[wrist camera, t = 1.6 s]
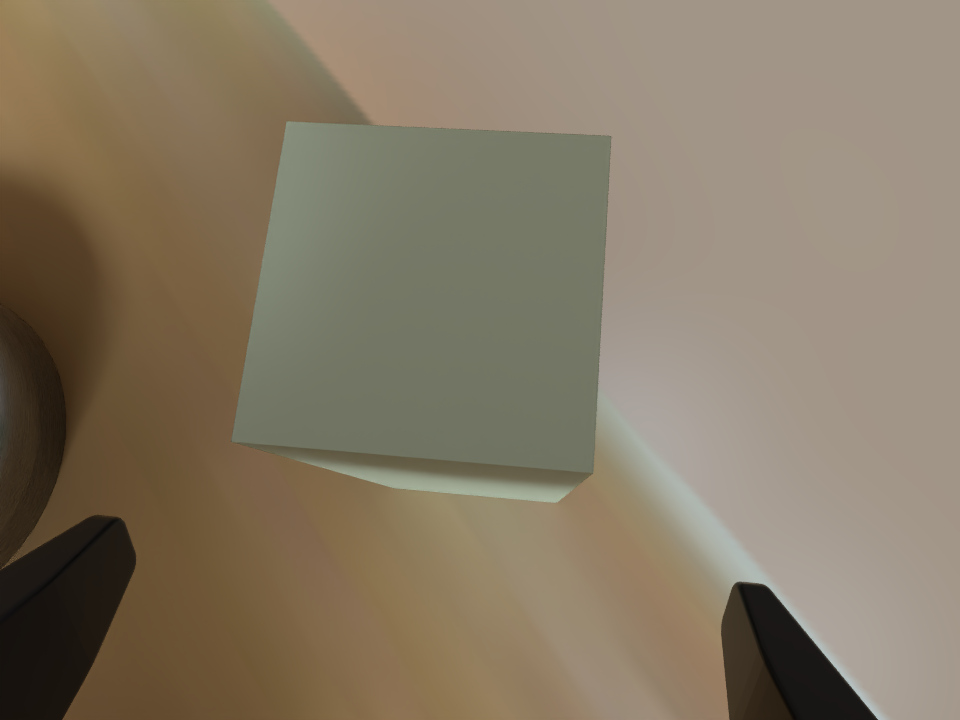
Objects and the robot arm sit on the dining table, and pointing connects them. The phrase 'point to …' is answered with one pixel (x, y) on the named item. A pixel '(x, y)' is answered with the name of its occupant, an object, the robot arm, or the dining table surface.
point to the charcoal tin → (26, 430)
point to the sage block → (432, 308)
